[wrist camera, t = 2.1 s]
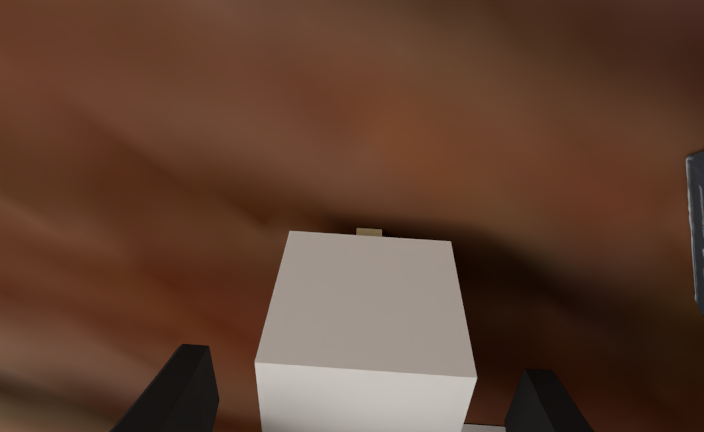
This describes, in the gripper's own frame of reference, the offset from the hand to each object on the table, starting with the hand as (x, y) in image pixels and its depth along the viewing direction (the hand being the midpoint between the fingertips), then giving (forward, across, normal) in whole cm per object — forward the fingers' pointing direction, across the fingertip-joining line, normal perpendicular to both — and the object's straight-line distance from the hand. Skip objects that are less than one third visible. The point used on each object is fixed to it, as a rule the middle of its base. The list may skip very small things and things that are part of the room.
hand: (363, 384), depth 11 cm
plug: (+4, 0, 0) cm, 4 cm away
